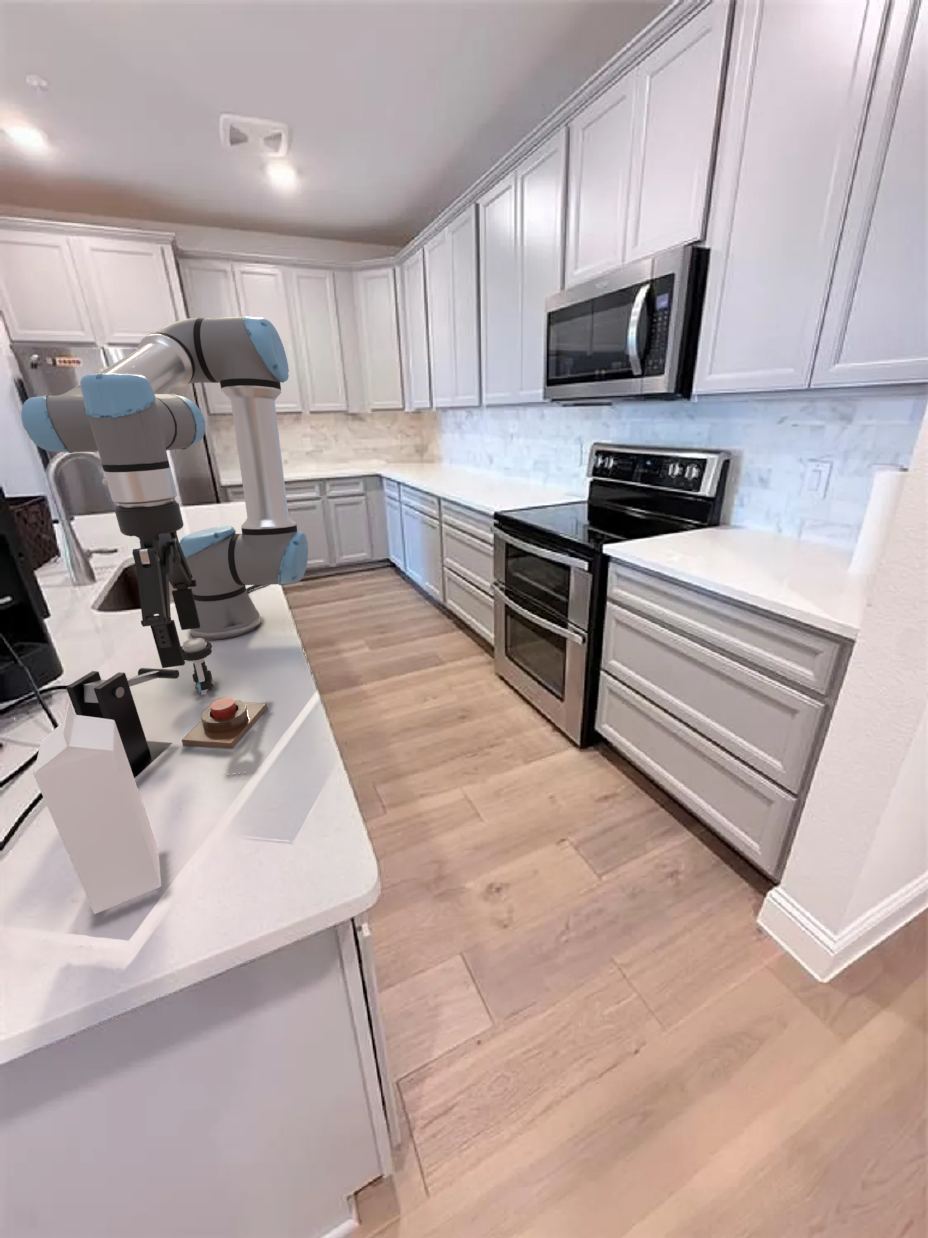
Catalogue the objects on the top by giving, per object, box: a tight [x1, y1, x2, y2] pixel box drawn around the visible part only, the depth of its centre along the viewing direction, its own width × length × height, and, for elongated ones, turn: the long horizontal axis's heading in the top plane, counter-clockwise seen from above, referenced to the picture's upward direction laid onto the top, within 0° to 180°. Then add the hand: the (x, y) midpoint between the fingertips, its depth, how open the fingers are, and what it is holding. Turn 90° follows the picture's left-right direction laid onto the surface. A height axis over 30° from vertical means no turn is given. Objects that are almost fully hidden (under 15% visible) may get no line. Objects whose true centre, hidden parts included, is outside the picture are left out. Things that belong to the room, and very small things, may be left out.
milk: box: [32, 702, 162, 915], centre depth 51 cm, size 6×6×22 cm
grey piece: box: [181, 637, 215, 696], centre depth 91 cm, size 7×5×10 cm
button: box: [209, 697, 237, 719], centre depth 80 cm, size 4×4×2 cm
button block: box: [181, 699, 268, 750], centre depth 80 cm, size 11×8×4 cm
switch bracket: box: [65, 670, 173, 779], centre depth 70 cm, size 10×8×15 cm
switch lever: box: [83, 667, 180, 703], centre depth 73 cm, size 13×6×2 cm, turn 173°
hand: (183, 645), depth 76 cm, fingers open, 13 cm apart
